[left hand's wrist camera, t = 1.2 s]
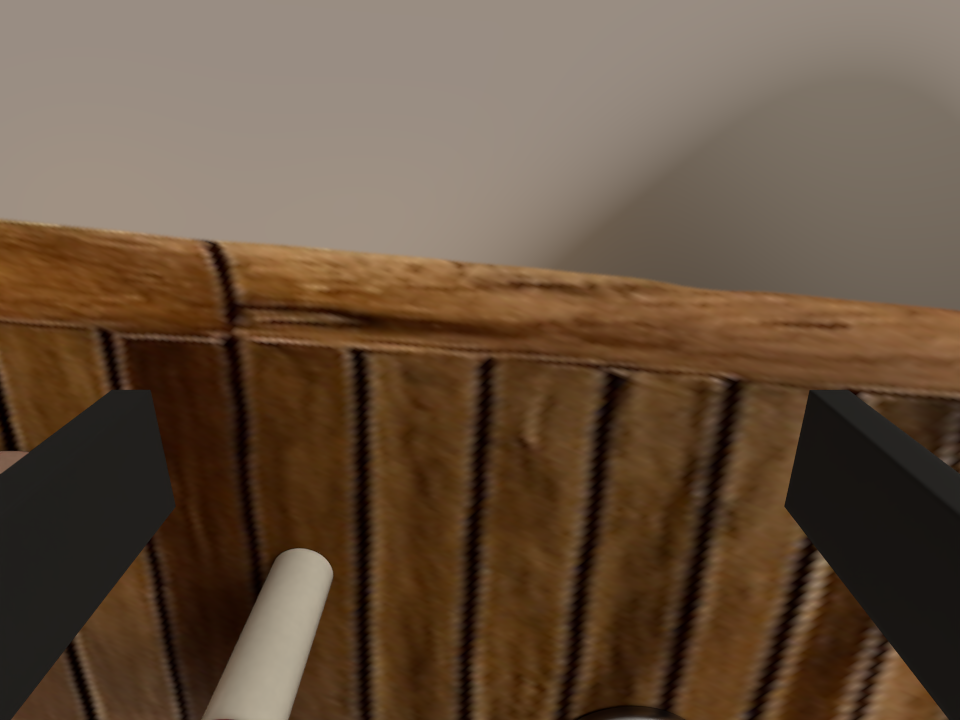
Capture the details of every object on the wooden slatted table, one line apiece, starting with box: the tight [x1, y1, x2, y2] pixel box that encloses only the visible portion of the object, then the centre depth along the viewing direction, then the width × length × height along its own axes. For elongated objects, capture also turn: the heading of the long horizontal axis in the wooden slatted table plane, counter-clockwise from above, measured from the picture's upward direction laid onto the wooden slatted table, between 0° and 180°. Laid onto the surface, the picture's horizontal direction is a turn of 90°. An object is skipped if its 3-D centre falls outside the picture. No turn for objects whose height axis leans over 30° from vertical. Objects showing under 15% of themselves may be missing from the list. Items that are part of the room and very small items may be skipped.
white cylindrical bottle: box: [201, 548, 333, 720], centre depth 41 cm, size 5×5×17 cm
